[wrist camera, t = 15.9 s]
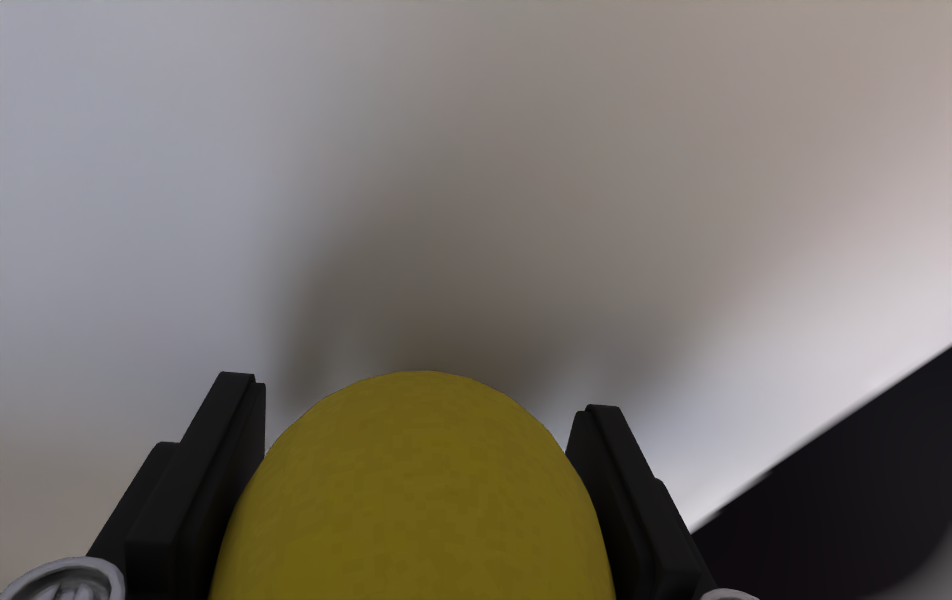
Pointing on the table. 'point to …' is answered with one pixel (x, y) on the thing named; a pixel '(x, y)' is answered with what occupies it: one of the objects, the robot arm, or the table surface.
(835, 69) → the table surface
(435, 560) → the lemon
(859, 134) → the table surface
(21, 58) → the table surface
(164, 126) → the table surface
